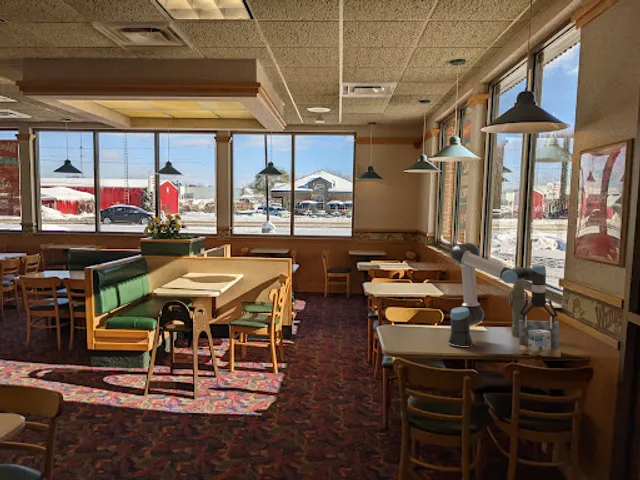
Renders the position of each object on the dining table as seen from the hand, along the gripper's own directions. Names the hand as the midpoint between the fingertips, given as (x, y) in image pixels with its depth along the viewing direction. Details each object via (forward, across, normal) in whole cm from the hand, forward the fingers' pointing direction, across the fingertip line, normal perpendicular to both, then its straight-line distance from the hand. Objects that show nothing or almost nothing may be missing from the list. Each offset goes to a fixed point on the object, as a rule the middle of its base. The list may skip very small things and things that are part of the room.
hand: (538, 327), depth 283 cm
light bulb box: (+13, +1, 0) cm, 13 cm away
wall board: (+16, +1, +1) cm, 16 cm away
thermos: (+17, -10, +40) cm, 44 cm away
